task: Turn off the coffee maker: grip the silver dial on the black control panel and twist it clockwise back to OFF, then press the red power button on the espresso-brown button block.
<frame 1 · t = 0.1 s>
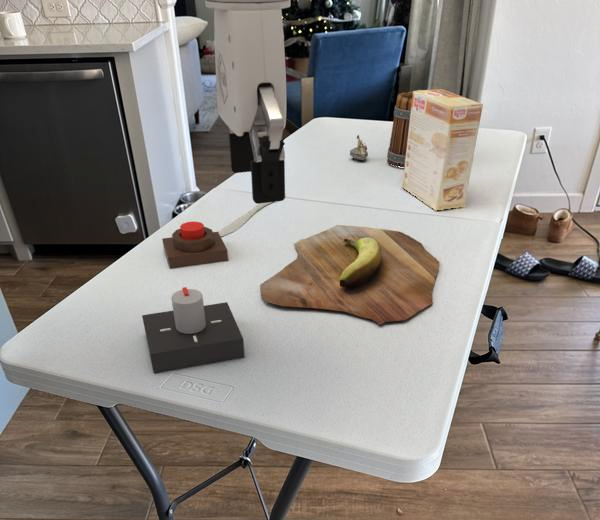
hand: (256, 185, 61), 23 cm above the table, tool pointing down, fingers open, 9 cm apart
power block: (195, 255, 101), on the table
dial panel: (193, 345, 79), on the table
figurine: (358, 161, 144), on the table
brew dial: (188, 310, 76), point 5 cm above the table, hinge at 90.0°
butter knife: (250, 216, 115), on the table
power button: (192, 230, 98), point 5 cm above the table, slide at 0.2 cm
cutting board: (356, 269, 97), on the table
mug: (409, 161, 143), on the table
coffeecake box: (431, 198, 123), on the table
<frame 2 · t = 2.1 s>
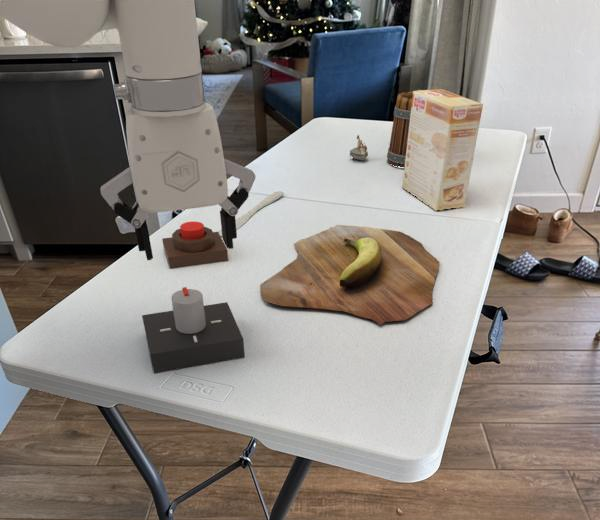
hand: (189, 249, 70), 14 cm above the table, tool pointing down, fingers open, 9 cm apart
nothing on the table moved.
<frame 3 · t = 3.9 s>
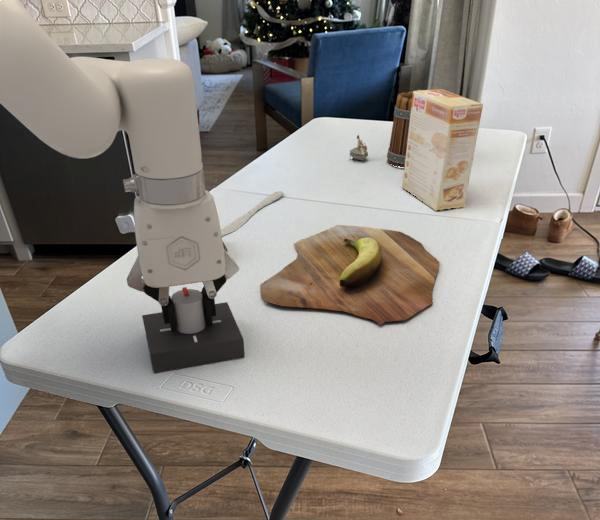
hand: (190, 322, 77), 4 cm above the table, tool pointing down, fingers closed on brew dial, 4 cm apart
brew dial: (188, 310, 76), point 5 cm above the table, hinge at 90.0°, touching gripper
everything else where it was.
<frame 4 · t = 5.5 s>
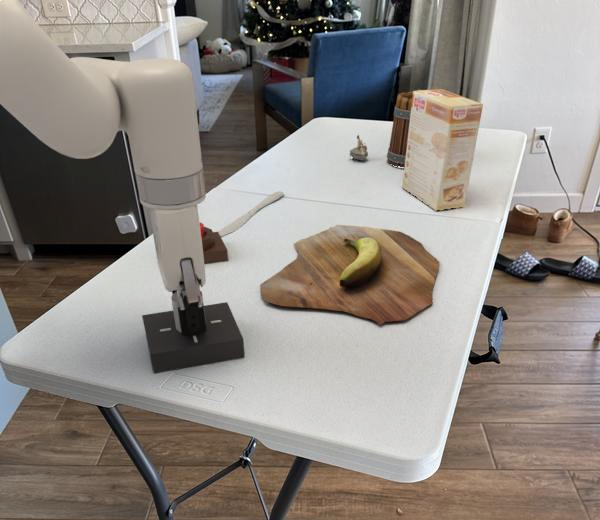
hand: (190, 322, 77), 4 cm above the table, tool pointing down, fingers closed on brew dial, 4 cm apart
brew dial: (188, 310, 76), point 5 cm above the table, hinge at 0.5°, touching gripper
everything else where it was.
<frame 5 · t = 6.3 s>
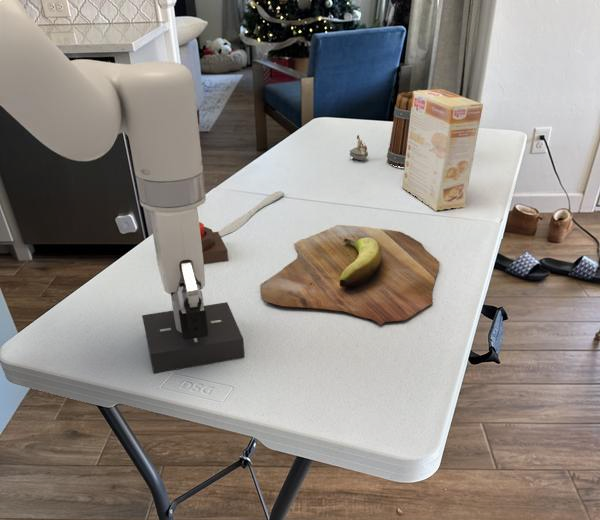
hand: (189, 317, 76), 4 cm above the table, tool pointing down, fingers open, 9 cm apart
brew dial: (188, 310, 76), point 5 cm above the table, hinge at -0.6°
everything else where it was.
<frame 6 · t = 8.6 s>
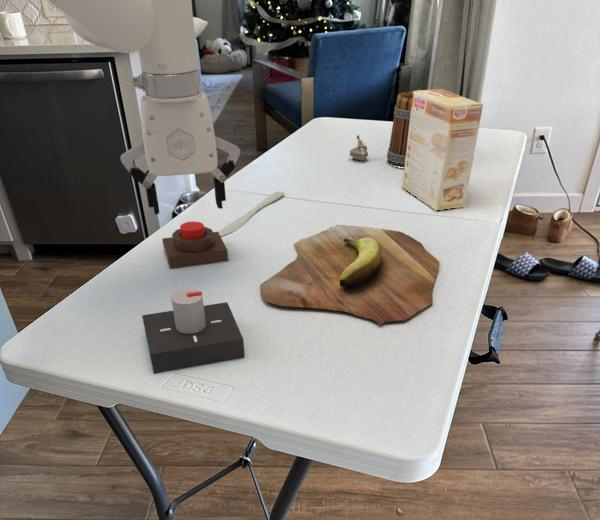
hand: (188, 208, 89), 11 cm above the table, tool pointing down, fingers open, 9 cm apart
nothing on the table moved.
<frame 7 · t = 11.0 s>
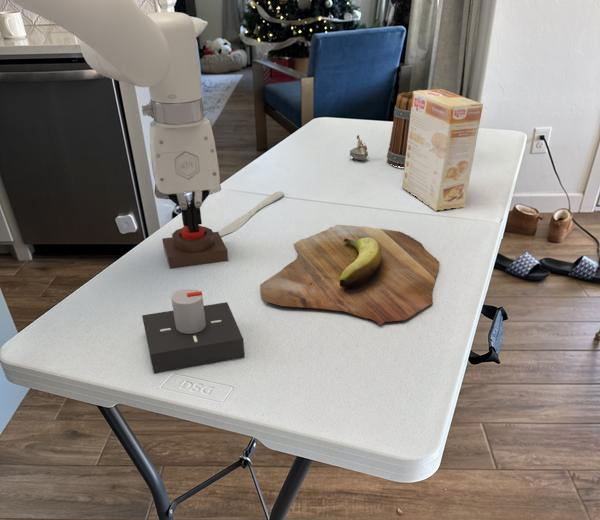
hand: (193, 228, 98), 5 cm above the table, tool pointing down, fingers closed
power button: (192, 234, 99), point 4 cm above the table, slide at -0.4 cm, touching gripper
everything else where it was.
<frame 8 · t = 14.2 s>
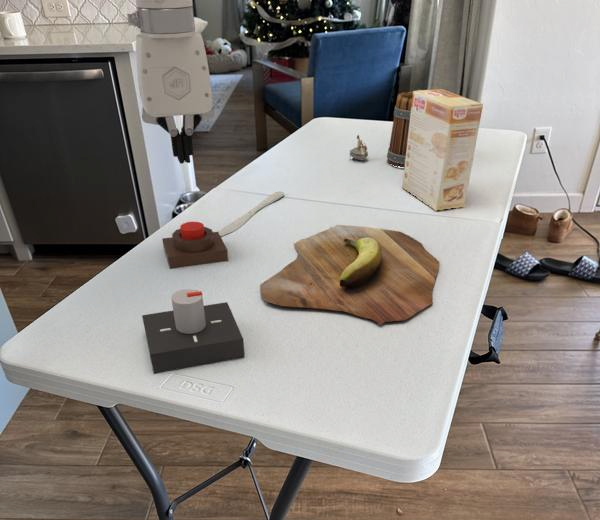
hand: (183, 160, 91), 16 cm above the table, tool pointing down, fingers closed
power button: (192, 230, 98), point 5 cm above the table, slide at 0.1 cm
everything else where it was.
at the end: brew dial at -1° (first picture: +90°); power button pushed in 1.1 cm at the most during the clip, back to where it started at the end; power button slide at 0.1 cm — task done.
